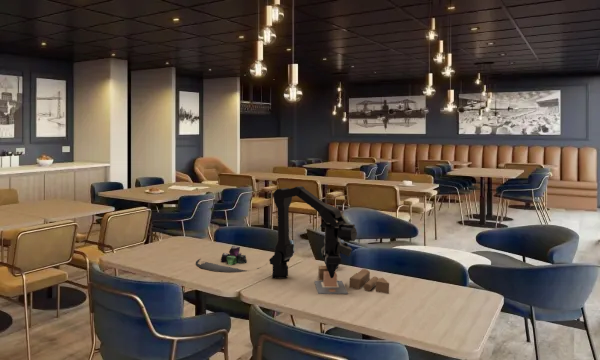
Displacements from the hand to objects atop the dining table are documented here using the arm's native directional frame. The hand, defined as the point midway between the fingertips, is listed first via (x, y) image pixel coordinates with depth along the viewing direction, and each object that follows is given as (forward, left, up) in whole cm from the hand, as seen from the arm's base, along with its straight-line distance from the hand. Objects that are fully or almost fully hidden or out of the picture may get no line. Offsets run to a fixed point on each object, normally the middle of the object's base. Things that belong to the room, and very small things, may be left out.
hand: (330, 274), depth 213 cm
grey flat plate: (0, -2, -5) cm, 5 cm away
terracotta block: (0, 0, -4) cm, 4 cm away
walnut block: (-1, +12, -5) cm, 13 cm away
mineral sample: (-44, +38, -6) cm, 59 cm away
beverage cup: (+5, +28, -5) cm, 29 cm away
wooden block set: (+19, +2, -6) cm, 20 cm away
